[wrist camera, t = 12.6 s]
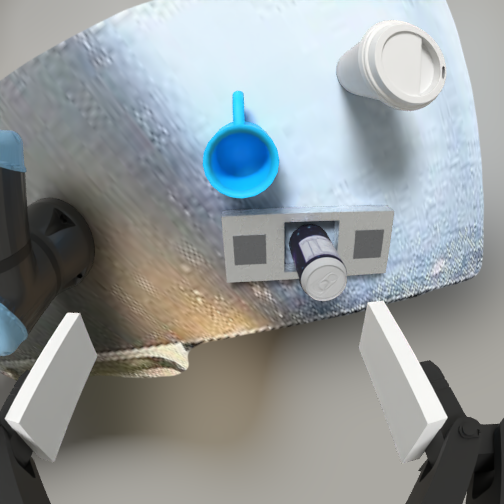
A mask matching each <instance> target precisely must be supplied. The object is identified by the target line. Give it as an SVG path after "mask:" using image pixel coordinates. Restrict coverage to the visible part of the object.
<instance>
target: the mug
mask: <svg viewBox="0 0 504 504" xmlns="http://www.w3.org/2000/svg"><path fill="white" fill-rule="evenodd" d="M278 166H279V156H278V151H277V148H276V146H275V144H274V143H273V141H272V139H271V138H270V137H269V135H268V134H267V133H266V132H265V131H264V130H263V129H262V128H261V127H260V126H258V125H256V124H254V123H251V122H247V121H245V114H244V94H243V92H241V91H236V92H234V93H233V122H232V123H229V124H227V125H225V126H224V127H222V128H221V129H220V130H219V131H218V132H217V133H216V134H215V135H214V137H213V138H212V139H211V140H210V141H209V142H208V144H207V147H206V149H205V151H204V157H203V167H204V171H205V175H206V177H207V179H208V180H209V182H210V184H211V185H212V186H213V187H214V188H215V189H217V190H218V191H219V192H220V193H222V194H224V195H227V196H229V197H233V198H248V197H253V196H256V195H257V194H259V193H261V192H263V191H265V190H266V189H267V188H268V187H269V186H270V185H271V183H272V182H273V181H274V179H275V176H276V174H277V172H278Z"/></svg>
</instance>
